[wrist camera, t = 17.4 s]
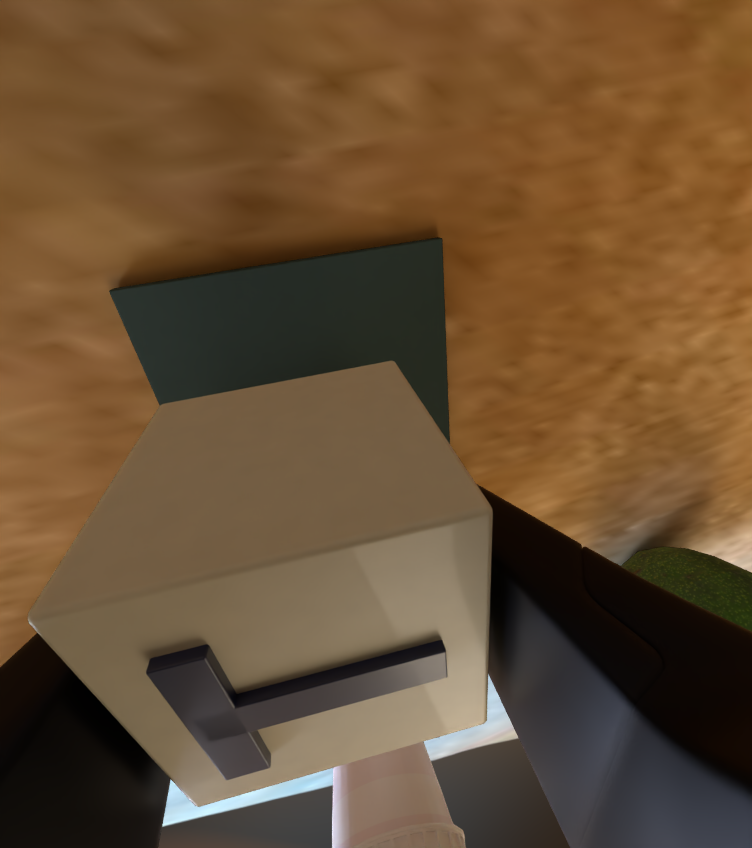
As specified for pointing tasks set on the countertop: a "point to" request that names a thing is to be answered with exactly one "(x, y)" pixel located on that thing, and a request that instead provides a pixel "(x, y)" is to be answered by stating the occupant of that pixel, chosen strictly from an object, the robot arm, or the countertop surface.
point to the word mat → (295, 323)
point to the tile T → (281, 583)
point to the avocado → (698, 580)
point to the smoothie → (391, 803)
